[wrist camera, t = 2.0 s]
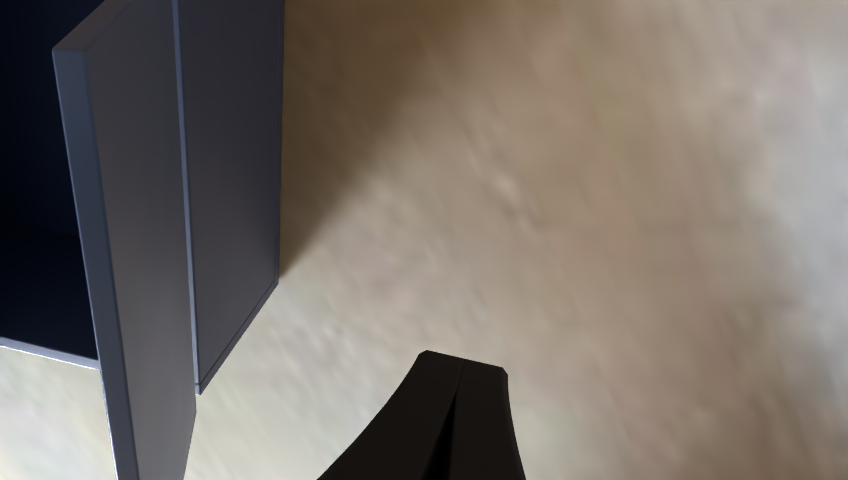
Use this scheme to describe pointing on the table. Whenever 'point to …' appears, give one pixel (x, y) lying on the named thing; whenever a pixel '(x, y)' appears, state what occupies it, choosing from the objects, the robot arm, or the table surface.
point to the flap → (132, 226)
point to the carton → (201, 170)
